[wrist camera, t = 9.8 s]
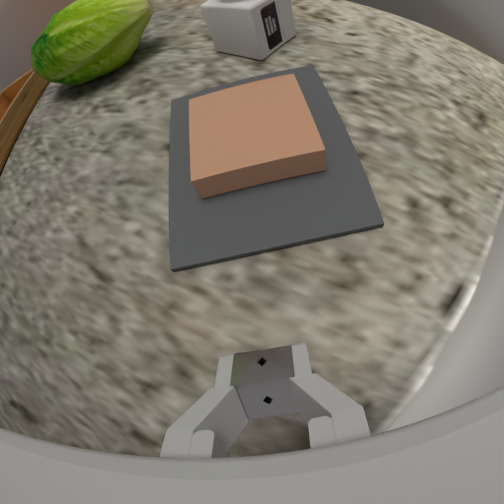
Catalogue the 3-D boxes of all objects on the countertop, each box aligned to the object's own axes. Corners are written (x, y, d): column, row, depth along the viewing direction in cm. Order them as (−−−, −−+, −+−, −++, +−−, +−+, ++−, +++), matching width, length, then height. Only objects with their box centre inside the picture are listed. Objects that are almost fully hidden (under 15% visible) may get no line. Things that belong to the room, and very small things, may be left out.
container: (297, 35, 33) (281, -50, 21) (262, 62, 31) (236, -34, 20) (251, 26, 36) (230, -48, 24) (215, 52, 34) (184, -29, 23)
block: (190, 181, 22) (188, 99, 26) (202, 199, 25) (197, 118, 29) (325, 149, 21) (293, 73, 25) (325, 171, 23) (296, 94, 27)
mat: (173, 271, 23) (170, 269, 23) (173, 103, 31) (171, 100, 31) (383, 226, 21) (384, 223, 21) (313, 68, 29) (312, 65, 29)
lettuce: (169, 18, 41) (167, 67, 37) (66, 66, 44) (48, 123, 40) (139, -43, 28) (124, -9, 23) (27, 22, 31) (-6, 76, 26)
